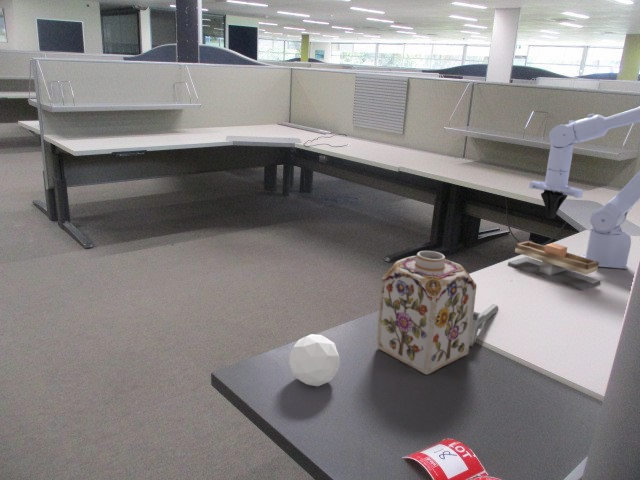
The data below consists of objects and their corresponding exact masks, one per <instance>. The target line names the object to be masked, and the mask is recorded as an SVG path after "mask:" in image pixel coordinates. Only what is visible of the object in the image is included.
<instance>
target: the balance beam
mask: <svg viewBox="0 0 640 480" xmlns="http://www.w3.org/2000/svg"><path fill="white" fill-rule="evenodd" d="M544 251H545V245H541V244H539V243H535V242H532V241H529V240H527V241H522V242H519V243H516V244H515V249H514V253H516V254H520V255H523V256H524V257H522V258H518V259H515V260H511V261H507V266H510V267H513V268H516V269H518V270H522V271H525V272H528V273H531V274H534V275H535V276H539V277H542V278H545V279H548V280H551V281H554V282H557V283H560V284H563V285H566V286H568V287H571V288H573V289H574V288H575V289H576V290H581V291H583V290H587V289H589V288H592V287H594V286H597V285H600V284H601V281H602V280H600V279H597V278H594V277H591V276H588V275H589V274H592V273H595V272H598V270H599V267H598V265H599V262H598V261H594V260H591V259H587V258H584V257H581V256H580V255H576V254H573V253H569V252H566V257H560V256H557V255H554V254H550V253H547V252H544Z"/></svg>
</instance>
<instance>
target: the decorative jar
mask: <svg viewBox="0 0 640 480" xmlns="http://www.w3.org/2000/svg"><path fill="white" fill-rule="evenodd" d="M380 281H381V282H380V283H381V284H380V292H379V293H380V294H379V306H378V316H377V317H378V318H377V332H376V333H377V336H376V348H377V349H378V350H380V351H382V352H384V353H385V354H387V355H389V356H390V357H393V359H394V358H395V359H396V360H398V361H400V362H402V363H403V364H405V365H408V366H409V367H410V368H412V369H415V370H416V371H419V372H420V373H422V374H424V375H426V376H427V375H430V374H431V373H434V372H436V371H437V370H439V369H441V368H442V367H445V366H446V365H449V364H451V363H453V362H455V361H457V360H458V359H460V358H463V357H465V356H467V355H469V349H470V346H469V344H470V337H471V330H472V321H473V313H474V312H475V303H476V293H477V283H476V282H475V281H474V279H473V278H472V277H471V275H470V273H469V272H468V271H467V270H466V269H465V268H464V266H462V265H461V264H460V263H456V262H455V261H451V260H449V259H446V256H445V255H444V254H443V253H441V252H438V251H433V250H420V251H419V252H417V253H416V255H412V256H407V257H404V258H401V259H399V260H397V261H395V262H394V263H393V265H392V266H391V267H390V269H388V270H387V272H386V273H385V275H383V276H382V278H381V280H380Z"/></svg>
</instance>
